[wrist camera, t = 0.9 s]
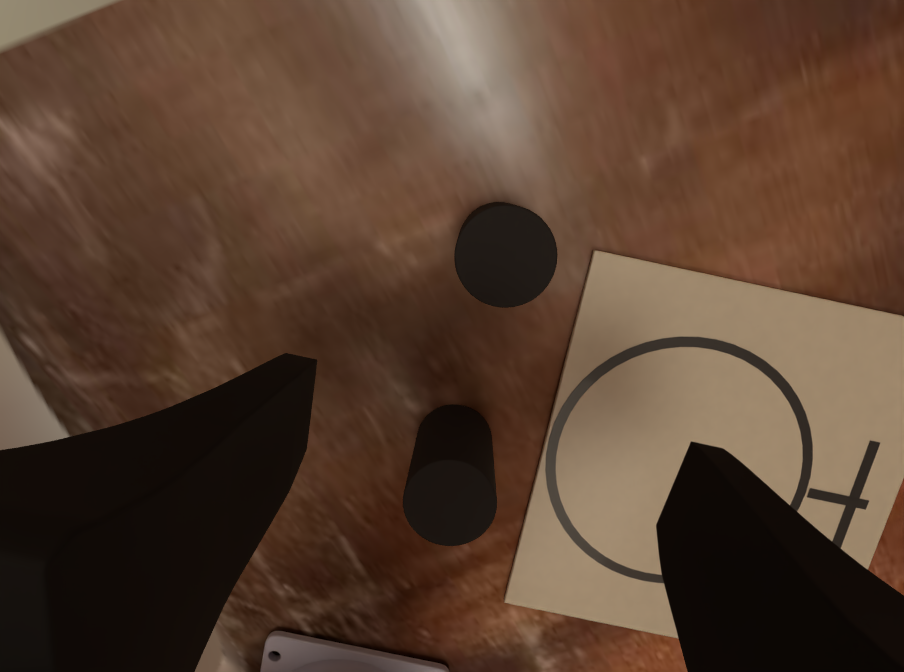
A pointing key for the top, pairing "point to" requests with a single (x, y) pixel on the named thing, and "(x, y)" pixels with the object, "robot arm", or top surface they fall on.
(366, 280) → the top surface
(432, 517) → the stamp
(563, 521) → the sheet
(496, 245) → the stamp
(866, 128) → the top surface
